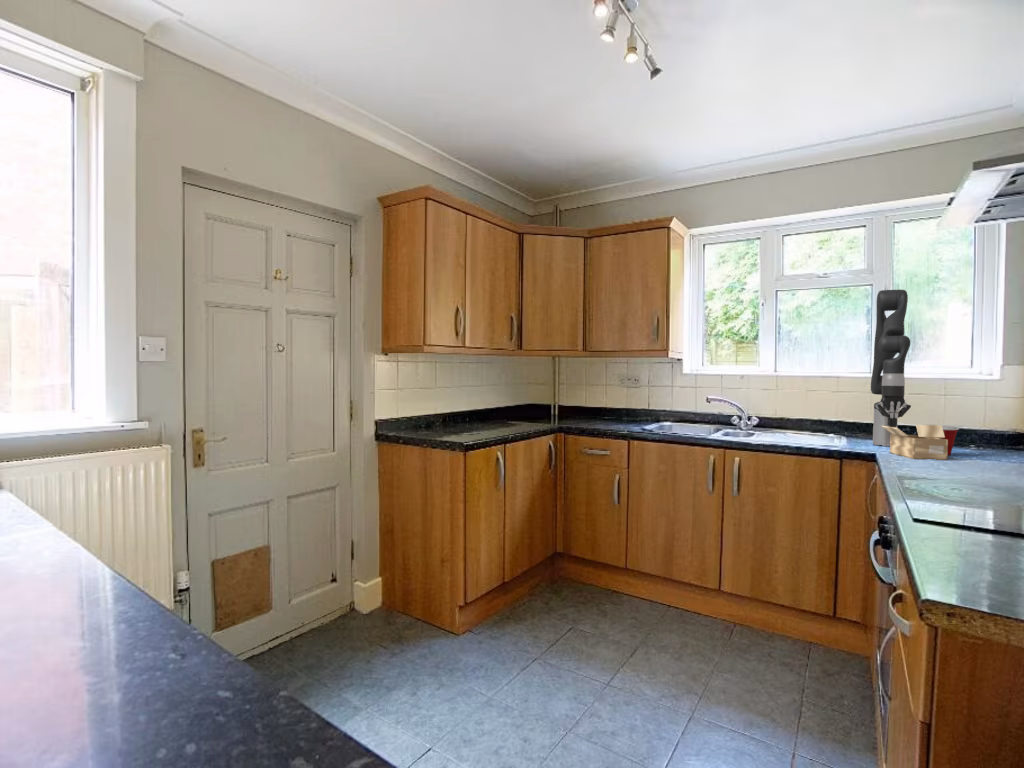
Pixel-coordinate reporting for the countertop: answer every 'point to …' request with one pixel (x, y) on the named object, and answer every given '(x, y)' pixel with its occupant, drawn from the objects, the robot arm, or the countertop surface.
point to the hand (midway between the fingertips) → (892, 427)
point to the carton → (919, 447)
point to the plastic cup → (949, 436)
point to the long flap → (894, 431)
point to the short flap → (930, 431)
